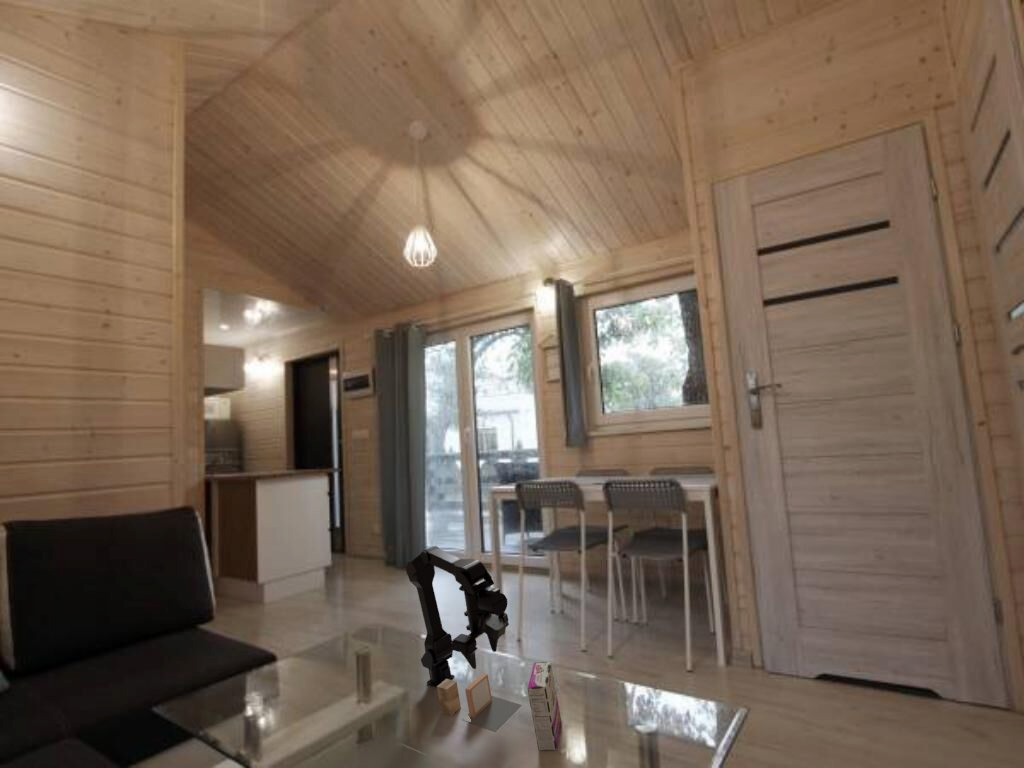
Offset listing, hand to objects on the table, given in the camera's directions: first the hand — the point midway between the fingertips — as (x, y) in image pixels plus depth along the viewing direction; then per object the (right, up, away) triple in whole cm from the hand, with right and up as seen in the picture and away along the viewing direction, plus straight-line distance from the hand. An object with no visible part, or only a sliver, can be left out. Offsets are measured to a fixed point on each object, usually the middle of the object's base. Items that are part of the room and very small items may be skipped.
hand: (484, 659), depth 157 cm
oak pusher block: (-10, -15, +1) cm, 18 cm away
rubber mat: (+2, -13, -3) cm, 14 cm away
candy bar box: (+17, -11, -16) cm, 27 cm away
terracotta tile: (-1, -13, -1) cm, 13 cm away
